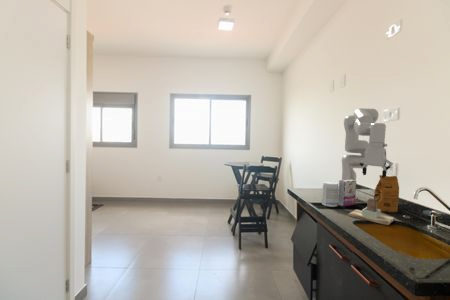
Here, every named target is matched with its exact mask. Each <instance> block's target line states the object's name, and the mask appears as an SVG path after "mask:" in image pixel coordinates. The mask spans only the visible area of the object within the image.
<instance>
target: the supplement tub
mask: <svg viewBox="0 0 450 300" xmlns="http://www.w3.org/2000/svg"><path fill="white" fill-rule="evenodd" d="M338 194H339V182H335V181H323V182H322V193H321V205H323V206H324V207H329V208H335V207H338V206H339V205H338Z"/></svg>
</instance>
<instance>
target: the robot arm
mask: <svg viewBox="0 0 450 300" xmlns="http://www.w3.org/2000/svg"><path fill="white" fill-rule="evenodd" d="M352 114H353V115H347V116H345V117H344V120H343V127H344V131H345V139H344V143H345V144H344V151H345V152H346V153H349V154H345V155H343V156H342V158H341V169H342V170H341V180H356V181H357V172H356V171H355V169H360V170H361V169H362V170H361V171H362V173H361V174H363V176H366V175H367V168H368V166H371V167H379V168H380V167H381V168H382V169H383V170H382V173H381V174H382V178H384V177H385V176H387V171H388V170H389V169H390V168H392V167H393V164H394V163H393V162H392V161H391V160H388V159H387V148H385V147H388V143H386V142H385V141H386V140H385V138H386V129H387V126H386V123H384V122H377V121H378V119H379V117H380V116H379V115H380V114H379V111H378V110H377V109H375V108H365V107H364V108H357V109H355V110H354V112H353V113H352ZM359 136H360V137H361V136H362V137H364V136H365V137H366V136H367V137H369V139H368V141H367V140H365V139H362V140H361V139H359ZM355 199H356V200H357V199H358V198H357V196H355Z"/></svg>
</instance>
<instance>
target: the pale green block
mask: <svg viewBox="0 0 450 300" xmlns="http://www.w3.org/2000/svg"><path fill="white" fill-rule="evenodd" d="M381 213H382V212H381V210H380V209H376V212H373V211H369V210H367V206H366V207H365V208H362V216H367V217H371V218H377V217H379V216H380V214H381Z"/></svg>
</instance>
